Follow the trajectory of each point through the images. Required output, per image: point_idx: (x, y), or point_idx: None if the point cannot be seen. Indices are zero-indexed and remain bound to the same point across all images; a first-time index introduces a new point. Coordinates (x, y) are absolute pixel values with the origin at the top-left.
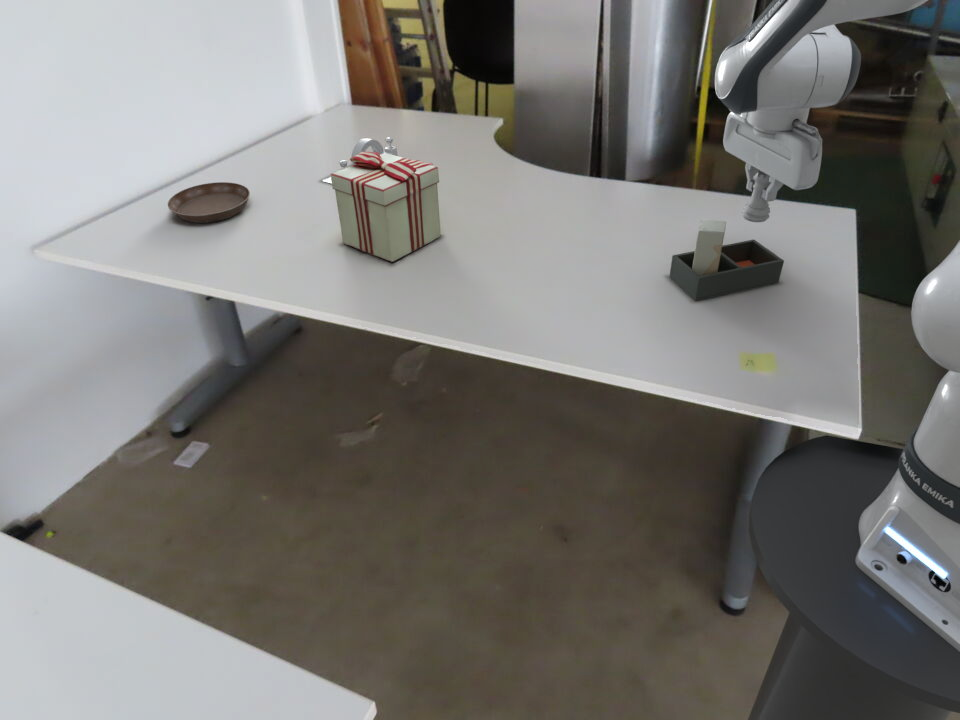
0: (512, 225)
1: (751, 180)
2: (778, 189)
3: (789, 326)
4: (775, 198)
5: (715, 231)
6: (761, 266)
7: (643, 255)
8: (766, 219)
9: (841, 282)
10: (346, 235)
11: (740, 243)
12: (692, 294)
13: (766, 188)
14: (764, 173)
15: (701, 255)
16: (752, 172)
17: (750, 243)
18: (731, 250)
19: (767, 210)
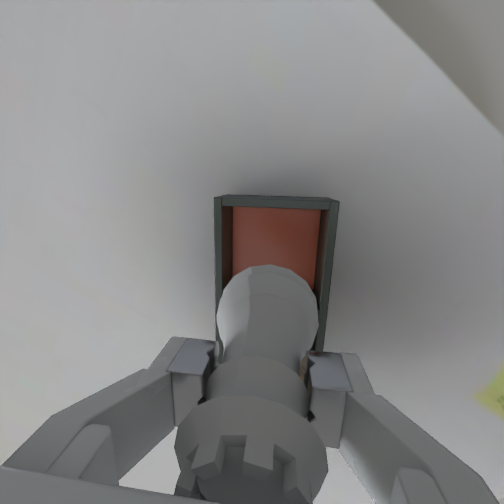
0: (8, 454)
1: (174, 419)
2: (389, 407)
3: (464, 283)
4: (357, 356)
5: None
6: (332, 264)
7: (145, 351)
8: (315, 300)
9: (395, 54)
10: None
11: (221, 241)
12: None
13: (313, 426)
14: (227, 483)
15: None
16: (126, 446)
17: (223, 212)
18: (225, 259)
19: (312, 316)
